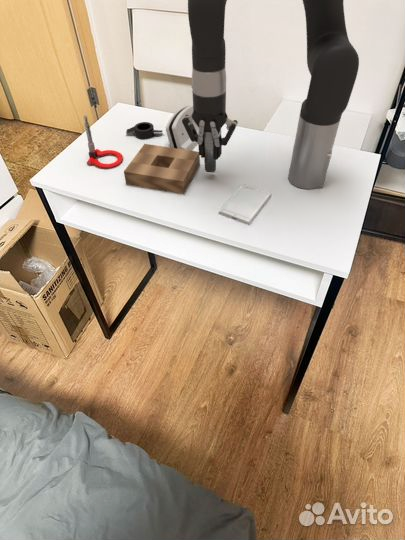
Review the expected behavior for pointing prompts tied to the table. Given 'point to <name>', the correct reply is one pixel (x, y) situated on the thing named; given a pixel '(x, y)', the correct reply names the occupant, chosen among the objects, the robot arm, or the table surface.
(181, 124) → the grey rounded slab
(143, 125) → the black rounded piece
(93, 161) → the tow hook
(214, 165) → the pin
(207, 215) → the table surface
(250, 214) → the hard drive
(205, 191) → the table surface
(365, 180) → the table surface
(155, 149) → the wooden square frame
